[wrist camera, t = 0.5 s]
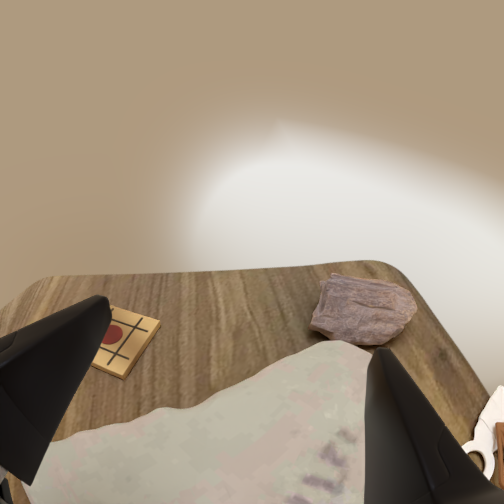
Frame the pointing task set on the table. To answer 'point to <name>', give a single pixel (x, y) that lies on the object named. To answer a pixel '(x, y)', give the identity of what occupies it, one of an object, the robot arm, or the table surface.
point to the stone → (229, 443)
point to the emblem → (500, 451)
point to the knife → (488, 431)
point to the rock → (362, 310)
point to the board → (124, 342)
